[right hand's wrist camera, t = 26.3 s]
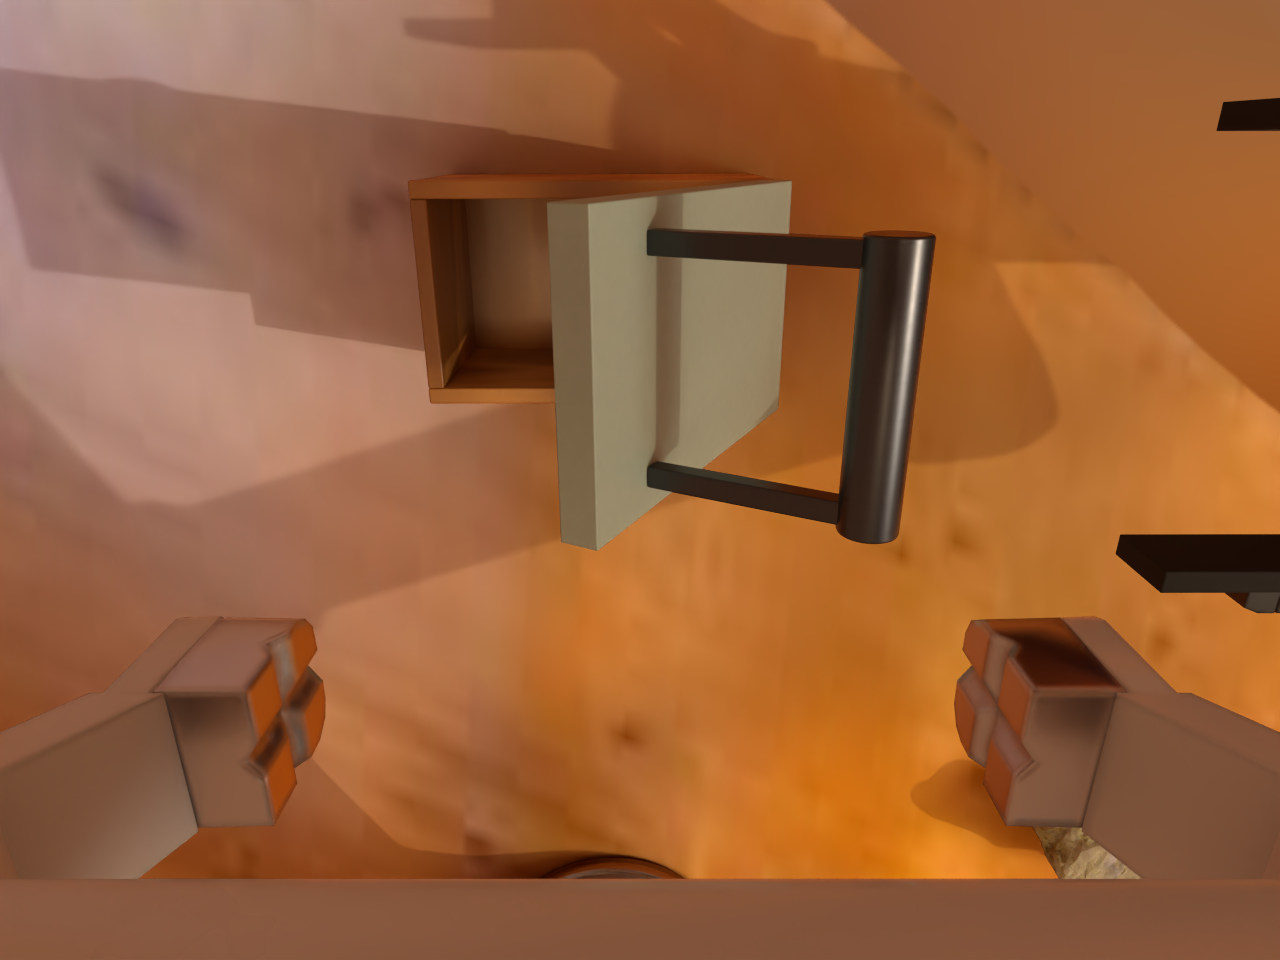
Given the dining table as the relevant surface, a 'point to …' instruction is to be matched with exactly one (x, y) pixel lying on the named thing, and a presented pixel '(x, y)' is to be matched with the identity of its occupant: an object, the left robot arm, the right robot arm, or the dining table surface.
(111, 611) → the dining table surface
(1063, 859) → the rock
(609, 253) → the lid
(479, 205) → the chest
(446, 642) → the dining table surface
